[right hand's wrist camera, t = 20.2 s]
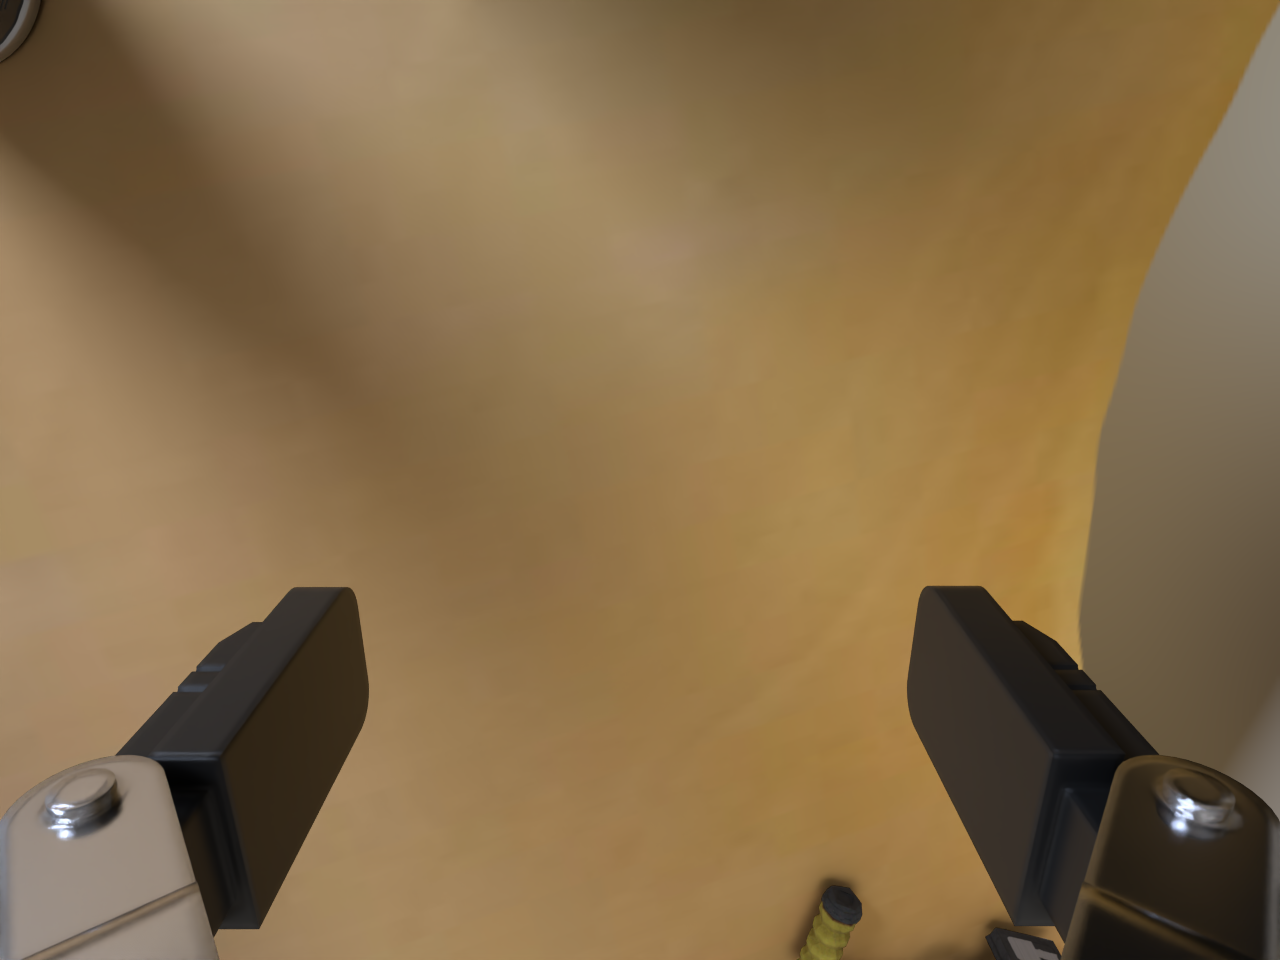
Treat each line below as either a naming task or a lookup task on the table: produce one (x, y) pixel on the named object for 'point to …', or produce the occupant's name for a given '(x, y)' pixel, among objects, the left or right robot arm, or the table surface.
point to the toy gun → (841, 910)
